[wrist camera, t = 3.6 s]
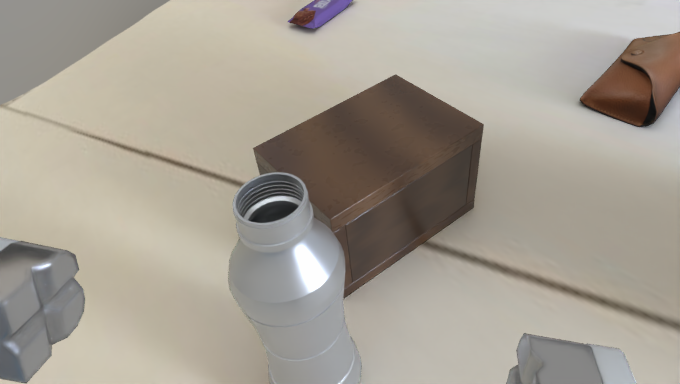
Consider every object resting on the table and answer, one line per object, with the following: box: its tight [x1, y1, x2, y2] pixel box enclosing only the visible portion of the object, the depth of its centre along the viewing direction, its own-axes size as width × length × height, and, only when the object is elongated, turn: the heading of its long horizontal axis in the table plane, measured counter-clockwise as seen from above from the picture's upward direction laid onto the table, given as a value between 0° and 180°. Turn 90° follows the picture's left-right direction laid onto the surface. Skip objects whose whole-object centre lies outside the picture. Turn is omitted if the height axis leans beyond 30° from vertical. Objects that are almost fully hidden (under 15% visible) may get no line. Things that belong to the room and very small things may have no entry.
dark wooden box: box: [253, 75, 484, 298], centre depth 48 cm, size 16×11×10 cm
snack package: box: [288, 0, 353, 29], centre depth 82 cm, size 12×2×5 cm
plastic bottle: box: [228, 172, 362, 384], centre depth 32 cm, size 6×7×20 cm
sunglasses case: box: [580, 32, 680, 127], centre depth 62 cm, size 18×7×7 cm
